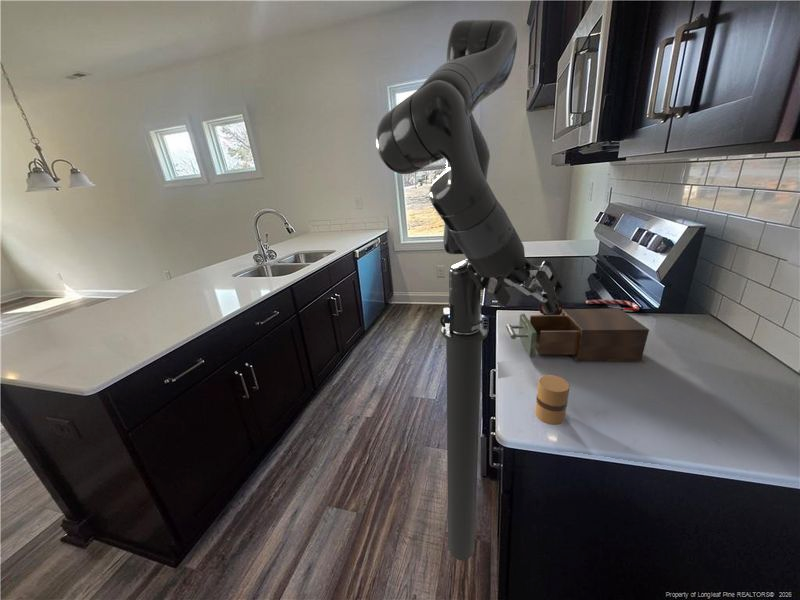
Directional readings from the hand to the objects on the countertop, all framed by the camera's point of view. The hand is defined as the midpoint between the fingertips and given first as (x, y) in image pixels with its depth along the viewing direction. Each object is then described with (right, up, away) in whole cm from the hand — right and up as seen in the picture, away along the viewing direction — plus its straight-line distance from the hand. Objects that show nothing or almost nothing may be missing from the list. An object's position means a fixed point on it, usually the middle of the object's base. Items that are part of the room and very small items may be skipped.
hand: (528, 305), depth 53 cm
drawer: (+16, -11, +31) cm, 37 cm away
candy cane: (+50, -1, +53) cm, 73 cm away
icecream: (+27, -4, +49) cm, 56 cm away
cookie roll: (+8, -21, +8) cm, 24 cm away
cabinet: (+30, -12, +30) cm, 44 cm away
